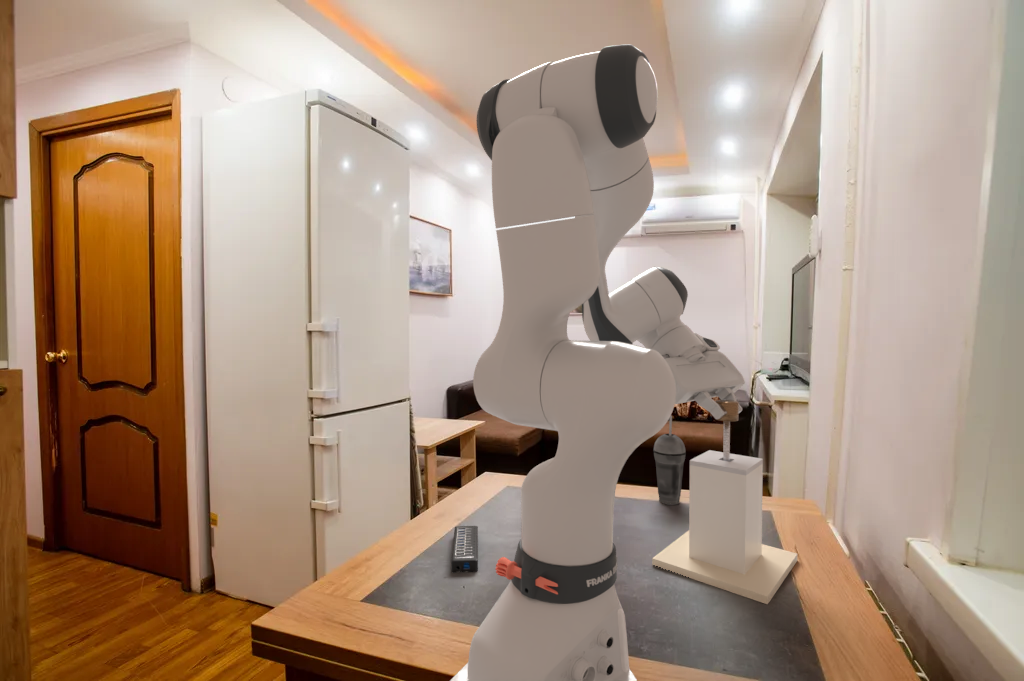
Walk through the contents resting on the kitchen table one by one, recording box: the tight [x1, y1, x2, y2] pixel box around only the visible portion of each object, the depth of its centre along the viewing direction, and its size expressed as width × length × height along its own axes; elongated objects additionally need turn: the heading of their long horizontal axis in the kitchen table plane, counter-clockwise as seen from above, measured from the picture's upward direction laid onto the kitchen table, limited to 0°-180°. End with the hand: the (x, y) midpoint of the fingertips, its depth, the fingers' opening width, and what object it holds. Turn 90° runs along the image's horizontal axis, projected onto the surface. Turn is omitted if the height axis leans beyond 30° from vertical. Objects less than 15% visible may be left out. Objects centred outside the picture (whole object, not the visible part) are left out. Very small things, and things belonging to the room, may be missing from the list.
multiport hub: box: [450, 525, 479, 574], centre depth 90 cm, size 4×14×2 cm, turn 4°
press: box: [651, 449, 799, 605], centre depth 85 cm, size 18×18×18 cm
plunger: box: [714, 399, 740, 462], centre depth 85 cm, size 7×7×18 cm
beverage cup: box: [652, 415, 687, 506], centre depth 115 cm, size 7×7×20 cm
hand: (730, 414), depth 84 cm, fingers closed on plunger, 4 cm apart
